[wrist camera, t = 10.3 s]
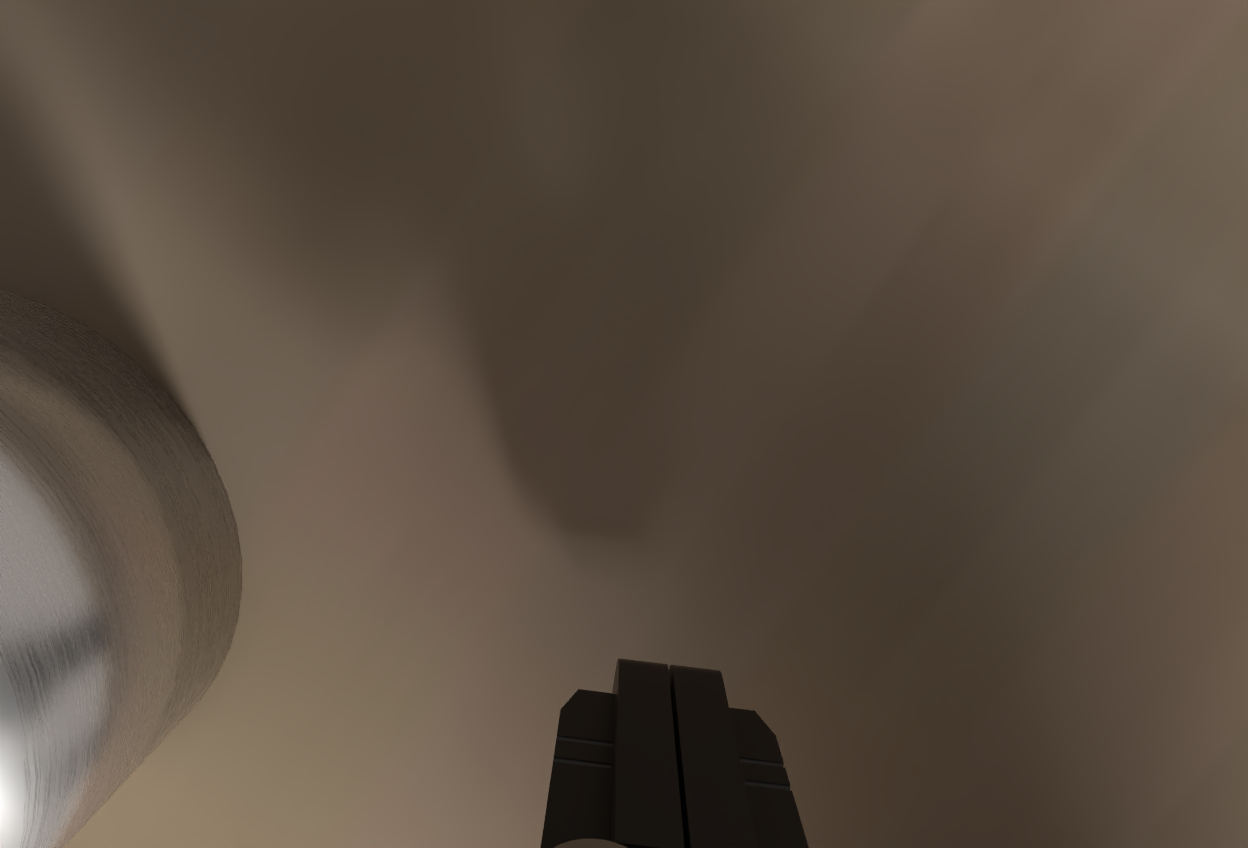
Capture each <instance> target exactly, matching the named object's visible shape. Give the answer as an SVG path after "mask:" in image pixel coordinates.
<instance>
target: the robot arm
mask: <svg viewBox="0 0 1248 848" xmlns="http://www.w3.org/2000/svg"><path fill="white" fill-rule="evenodd" d="M541 848H809V847H808V844H807V841H806V837H805V834H804V830H803V827H802V824H801V820H800V817H799V813H798V810H797V807H796V803H795V800H794V796H793V793H792V791H790V783H789V779H788V776H787V773H786V769H785V768H783V759H782V756H781V752H780V749H779V745H778V742H777V739H776V735H775V734H774V733H773V732H772V731H771V730H770V728H769V727H768V726H767V725H766V724H765V723H764V721H763V720H762V719H761V718H760V717H759V716H758V714H757V713H756V712H755V711H751V710H743V709H735V708H729V706H728V701H727V697H726V692H725V687H724V682H723V678H722V674H721V672H720V671H717V670H709V669H701V668H693V667H685V666H677V665H670V667H669V670H668V665H667V664H659V663H651V662H643V661H635V660H627V659H619V658H618V661H617V666H616V672H615V678H614V685H613V692H612V693H604V692H596V691H588V690H580V689H578V690H577V692H576V693H575V694H574V695H573V696H572V697H571V698H570V700H569V701H568V702H567V703H566V704H565V705H564V706H563V707H562V709H561V711H560V718H559V725H558V732H557V739H556V746H555V753H554V760H553V767H552V773H551V780H550V787H549V794H548V801H547V808H546V815H545V822H544V829H543V836H542V843H541Z"/></svg>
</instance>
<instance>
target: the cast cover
mask: <svg viewBox="0 0 1248 848" xmlns="http://www.w3.org/2000/svg"><path fill="white" fill-rule="evenodd" d="M241 594H242V558H241V551H240V544H239V538H238V531H237V525H236V522H235V518H234V515H233V512H232V508H231V505H230V501H229V498H228V494H227V492H226V489H225V487H224V485H223V482H222V480H221V478H220V476H219V473H218V471H217V469H216V466H215V464H214V462H213V460H212V458H211V456H210V455H209V453H208V451H207V450H206V448H205V446H204V444H203V443H202V441H201V439H200V438H199V436H198V434H197V433H196V431H195V429H194V428H193V426H192V425H191V424H190V422H189V421H188V420H187V419H186V417H185V416H184V415H183V413H182V412H181V411H180V409H179V408H178V407H177V405H176V404H175V403H174V401H173V400H172V399H171V398H170V397H169V396H168V395H167V393H166V392H165V391H164V390H163V389H162V388H161V387H160V386H159V385H158V384H157V383H156V382H155V381H154V380H153V379H152V378H151V377H150V376H149V375H148V374H147V373H146V372H145V371H144V370H143V369H142V368H141V367H140V366H138V365H137V364H136V363H135V362H134V361H132V360H131V359H130V358H129V357H128V356H126V355H125V354H124V353H123V352H122V351H120V350H119V349H118V348H117V347H116V346H114V345H113V344H112V343H110V342H108V341H107V340H105V339H104V338H102V337H101V336H99V335H98V334H96V333H95V332H93V331H92V330H90V329H89V328H87V327H86V326H84V325H83V324H81V323H79V322H77V321H75V320H73V319H71V318H69V317H67V316H65V315H63V314H61V313H59V312H57V311H56V310H54V309H52V308H50V307H48V306H46V305H43V304H41V303H38V302H35V301H32V300H30V299H27V298H24V297H21V296H19V295H16V294H13V293H11V292H8V291H4V290H0V848H64V847H65V846H66V845H67V843H68V842H69V841H70V840H71V839H72V838H73V837H74V836H75V835H76V834H77V833H78V832H79V831H80V829H81V828H82V827H83V826H84V825H85V824H86V823H87V822H88V821H89V820H90V819H91V818H92V816H93V815H94V814H95V813H96V812H97V811H98V810H99V809H100V808H101V807H102V806H103V805H104V804H105V802H106V801H107V800H108V799H109V798H110V797H111V796H112V795H113V794H114V793H115V792H116V791H117V789H118V788H119V787H120V786H121V785H122V784H123V783H124V782H125V781H126V780H127V779H128V778H129V776H130V775H131V774H132V773H133V772H134V771H135V770H136V769H137V768H138V767H139V766H140V765H141V764H142V762H143V761H144V760H145V759H146V758H147V757H148V756H149V755H150V754H151V753H152V752H153V751H154V749H155V748H156V747H157V746H158V745H159V744H160V743H161V742H162V741H163V740H164V739H165V738H166V737H167V735H168V734H169V733H170V732H171V731H172V730H173V729H174V728H175V727H176V726H177V725H178V724H179V722H180V721H181V720H182V719H183V718H184V717H185V716H186V715H187V714H188V713H189V712H190V711H191V710H192V708H193V707H194V706H195V705H196V704H197V703H198V702H199V701H200V700H201V699H202V697H203V696H204V694H205V693H206V691H207V690H208V688H209V687H210V685H211V684H212V682H213V681H214V679H215V678H216V676H217V675H218V673H219V670H220V668H221V666H222V664H223V662H224V660H225V658H226V655H227V653H228V651H229V649H230V646H231V642H232V639H233V635H234V632H235V629H236V625H237V622H238V616H239V608H240V601H241Z"/></svg>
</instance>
